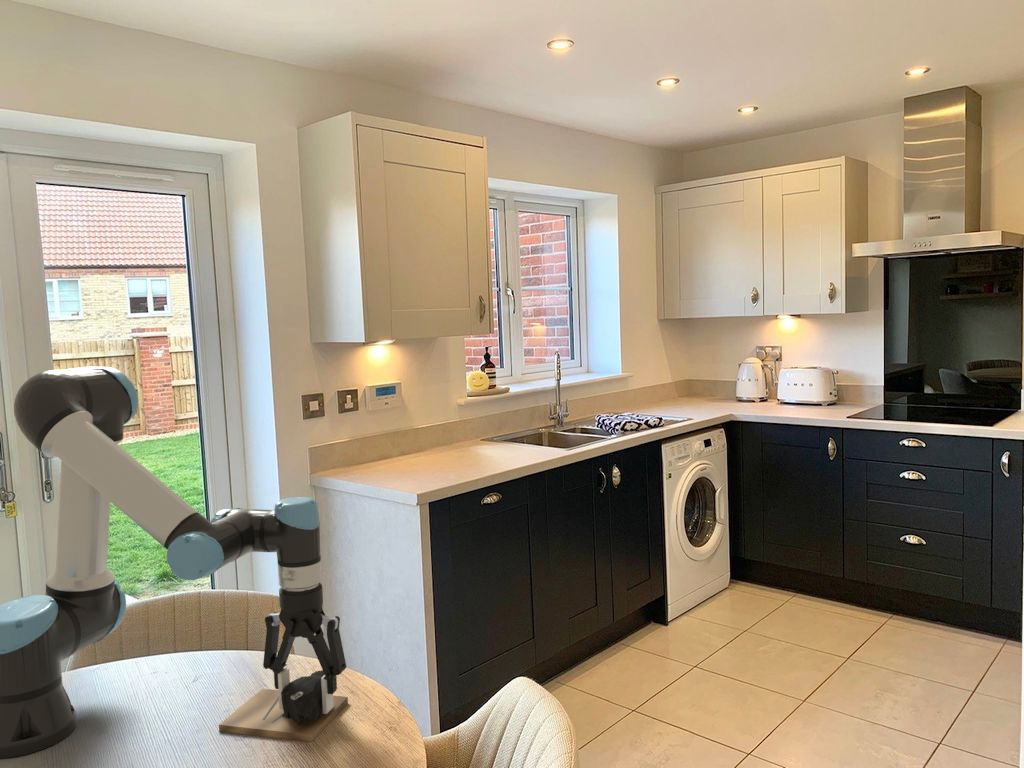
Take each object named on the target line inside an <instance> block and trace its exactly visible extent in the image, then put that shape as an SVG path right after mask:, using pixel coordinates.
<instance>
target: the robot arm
mask: <svg viewBox="0 0 1024 768" xmlns="http://www.w3.org/2000/svg"><path fill="white" fill-rule="evenodd" d="M13 402H14V403H13V414H14V417H15V420H16V424H17V426H18V428H19V429H20V432H21V433H22V434H23V436H24V437H25V438H26V440H27V441H29V442H30V443H31V445H33V446H34V447H35V448H36V449H37V450H38V451H39V452H41V453H42V454H43V455H44V456H46V457H50V458H51V457H52V458H53V457H54V458H55V457H57V458H58V459H59V460H60V462H61V463H60V477H59V479H60V483H59V497H58V498H59V499H58V500H59V504H58V520H57V521H58V523H57V524H58V525H57V540H56V541H57V543H56V561H55V563H56V564H55V571H54V572H52V573H51V574H50V575H49V576H48V577H46V580H45V581H46V582H45V595H44V594H33V595H27V596H22V597H20V598H18V599H12V600H9V601H7V602H5V603H3V604H0V759H4V758H5V759H9V758H15V757H20V756H21V757H22V756H26V755H28V754H29V755H30V754H32V753H35V752H39V751H41V750H43V749H46V748H49V747H51V746H53V745H55V744H57V743H59V742H61V741H62V740H64V739H65V738H67V737H68V736H69V735H70V734H71V733H72V732H73V731H74V730H75V728H76V727H77V714H76V713H77V712H76V709H75V707H74V706H73V704H72V702H71V700H70V698H69V695H68V692H67V691H66V688H65V687H64V685H63V684H64V683H63V677H62V676H63V674H62V662H63V661H64V660H66V659H68V658H69V657H71V656H72V655H73V656H74V655H75V654H77V653H79V652H80V651H83V649H86V648H87V647H89V646H91V645H94V644H97V643H99V642H100V641H102V640H104V638H107V637H108V636H109V635H110V634H111V633H113V632H114V631H115V630H116V629H117V628H119V626H120V625H121V623H122V621H123V619H124V617H125V615H126V610H127V599H126V595H125V592H124V591H123V590H122V586H121V585H120V583H119V582H118V581H116V575H115V573H114V572H112V571H111V570H110V569H109V568H108V553H109V552H108V551H109V536H110V535H109V533H110V518H111V516H110V515H111V504H112V505H114V506H115V507H116V508H117V509H118V510H120V511H121V512H122V513H123V514H124V515H125V516H127V517H128V518H129V519H130V520H131V521H132V522H134V523H135V524H136V525H137V526H139V527H140V528H141V529H142V530H143V531H145V532H146V533H147V534H148V535H149V536H151V538H153V539H154V540H155V541H156V542H158V543H159V544H160V545H161V546H162V547H163V548H165V549H166V550H167V551H166V563H167V564H168V566H169V568H170V571H171V573H173V575H175V577H177V578H179V579H181V580H183V581H196V580H199V579H202V578H205V577H207V576H211V575H213V574H214V573H216V572H217V571H218V570H219V569H221V568H223V567H225V566H226V565H228V564H230V563H232V562H234V561H236V560H238V559H239V558H241V557H244V556H246V555H247V554H250V553H256V552H257V553H276V557H277V558H276V559H277V576H278V585H279V586H280V588H279V590H278V598H279V599H278V600H279V608H280V611H279V612H276V611H273V612H271V613H270V614H268V615H267V616H265V617H264V623H265V627H266V633H265V635H266V636H265V644H264V651H263V652H264V653H263V663H262V665H263V666H262V667H263V669H265V670H268V669H269V670H271V671H272V672H273V679H274V680H273V681H274V688H275V689H274V690H279V708H280V709H283V706H282V697H281V692H282V690H283V689H284V687H285V686H286V685H288V684H289V683H290V682H291V676H290V668H289V667H286V666H287V665H288V664H287V661H288V658H289V656H290V653H291V650H292V648H293V644H294V642H295V639H296V638H300V637H301V638H303V639H307V642H308V643H309V644H311V646H312V648H313V650H314V653H315V655H316V656H315V657H316V658H317V660H318V663H319V664H320V666H321V667H320V668H321V670H323V672H324V674H325V675H324V676H323V677H322V678H321V685H322V706H323V714H327V713H328V712H329V711H330V710H331V709H332V708H333V707H334V703H333V695H334V694H335V692H337V690H338V679H337V676H340V675H341V674H342V673H343V672H344V671H345V670H346V669H347V662H346V657H345V653H344V648H343V642H342V638H341V633H340V623H341V622H340V621H341V617H340V616H338V615H335V616H334V617H332V616H328V615H326V614H325V611H324V608H323V606H324V605H323V604H324V596H323V595H324V594H323V593H324V592H323V584H322V583H321V582H322V581H323V573H322V572H323V571H322V569H323V568H322V557H321V531H320V530H321V529H320V528H321V520H320V514H319V506H318V503H317V502H318V501H316V500H315V499H314V498H312V497H307V496H297V497H294V496H293V497H285V498H283V499H279V500H278V501H276V502H275V503H274V509H256V508H253V509H252V508H242V507H241V508H240V507H234V508H224V509H220V510H218V511H217V512H216V513H215V514H214V516H213V517H212V518H211V520H208V519H207V518H206V517H205V516H203V514H201V513H200V512H199V511H197V510H196V509H195V508H194V507H192V506H191V505H190V504H189V503H188V502H186V501H185V500H184V499H183V498H181V496H179V495H178V494H177V493H176V492H175V491H173V489H171V488H170V487H168V485H166V484H165V483H164V482H162V481H161V480H160V479H159V478H158V477H157V476H155V474H153V473H152V471H150V470H148V468H146V467H145V466H144V465H143V464H141V463H140V462H139V461H138V460H136V458H134V457H133V456H132V455H131V454H130V453H128V452H127V451H126V450H125V449H124V448H122V447H121V446H120V445H119V444H120V443H121V442H122V441H124V429H125V428H124V426H125V425H127V423H129V422H130V421H131V419H132V418H133V417H135V415H136V414H137V410H138V406H139V397H138V393H137V389H136V387H135V385H134V383H133V382H132V380H130V378H128V376H127V375H126V374H125V373H123V372H122V371H121V370H119V369H116V368H114V367H109V366H94V365H93V366H84V367H75V368H74V367H73V368H67V369H49V370H45V371H42V372H38V373H36V374H34V375H33V376H31V377H29V378H27V380H26V381H25V382H24V383H23V384H22V385H21V386H20V387H19V389H18V390H17V393H16V394H15V398H14V401H13ZM281 624H282V625H283V626H284V628H285V630H284V633H283V635H282V638H281V639H282V641H281V644H280V646H279V637H280V625H281ZM322 625H324V630H325V631H326V639H327V642H326V640H325V638H324V630H323V628H322ZM327 643H328V644H327ZM278 647H279V649H278Z"/></svg>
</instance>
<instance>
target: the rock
mask: <svg viewBox="0 0 1024 768" xmlns="http://www.w3.org/2000/svg"><path fill="white" fill-rule="evenodd" d="M324 675H325V674H324V672H323V669H321V670H317V671H315V672H312V673H311V674H310V675H307V676H306V675H305V676H300V677H298V678H296V679H294V680H292V681H290V683H289V684H288V685H286V686H285V687H284V689H283V690H282V692H281V697H282V706H283V710H284V714H285V717H286V718H290V719H293V721H294V722H295V723H298V722H301V721H303V720H316V719H317V718H318V716H319V715H321V714H322V713H323V706H322V685H321V678H322V677H323V676H324Z"/></svg>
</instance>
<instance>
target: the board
mask: <svg viewBox="0 0 1024 768" xmlns="http://www.w3.org/2000/svg"><path fill="white" fill-rule="evenodd" d="M333 703H334V707H333V708H332V709H331V710H330V711H329V712H328V713H327V714H323V713H322V714H321V715H319V716H318V718H317V719H316V720H303V721H301V722H298V723H295V722H294V721H293V719H290V718H286V717H285V714H284V710H283V709H280V708H279V689H268V688H261V689H259V691H257V692H256V693H255V694H254V695H253V696H251V697H250V698H249V699H248V700H247V701H245V702H244V703H243V704H242V705H241V706H239V707H238V708H237V709H235V711H233V712H232V713H231V714H230V715H228V717H225V719H224V720H223V721H221V722H220V723H219V724H218V732H221V733H222V732H224V733H230V734H231V733H233V734H239V735H240V734H242V735H247V736H248V735H249V736H259V737H267V738H276V739H283V740H293V741H302V742H310V743H311V742H313V741H314V740H315V739H316V738H317V737H318V736H319V735H320V734H321V733H322V732H323V730H324V729H325V728H326V727H327V726H328V725H329V724H330V723H331V722H332V721H333V720H334V718H336V716H337V715H339V713H340V712H341V711H342V710H343V709H344V708H345V707H346V706H347V705H348V704H349V697H348V696H345V695H344V696H342V695H334V694H333Z"/></svg>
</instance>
